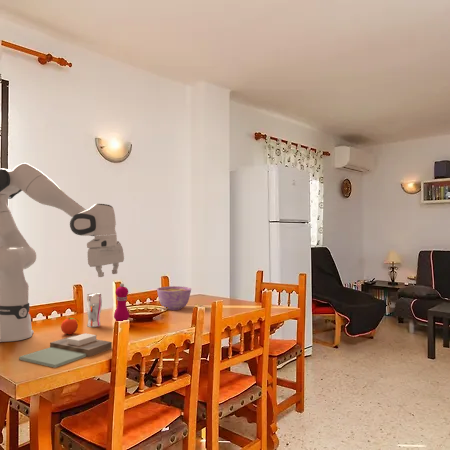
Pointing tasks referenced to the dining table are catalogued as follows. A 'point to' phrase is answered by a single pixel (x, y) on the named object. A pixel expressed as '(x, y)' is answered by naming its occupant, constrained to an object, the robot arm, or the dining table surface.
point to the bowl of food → (173, 296)
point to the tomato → (69, 326)
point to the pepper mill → (121, 304)
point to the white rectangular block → (81, 339)
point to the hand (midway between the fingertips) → (108, 275)
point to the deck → (83, 346)
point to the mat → (52, 357)
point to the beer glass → (94, 309)
